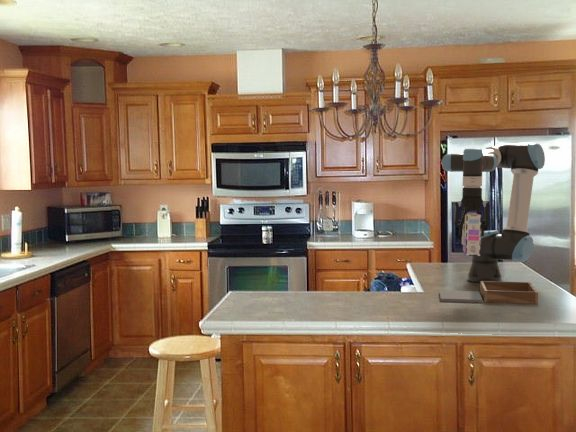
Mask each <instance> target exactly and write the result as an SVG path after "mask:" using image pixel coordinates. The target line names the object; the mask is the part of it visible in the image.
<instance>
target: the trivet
mask: <svg viewBox="0 0 576 432" xmlns="http://www.w3.org/2000/svg"><path fill="white" fill-rule="evenodd" d="M439 299H440V302H445V303H446V302H447V303H471V302H478V304H482V303H483V297H482V294H481V292H480V291H477V290H476V291H474V290H472V291H468V290H441V289H440V290H439Z"/></svg>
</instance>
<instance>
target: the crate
mask: <svg viewBox="0 0 576 432" xmlns="http://www.w3.org/2000/svg"><path fill="white" fill-rule="evenodd" d="M479 284H480V285H479V286H480V288H479V289H480V290H479V293H480V295H481V297H482V300H483V301H485V303H504V302H505V303H507V304H534V303H538V304H539V291H538V290H537V289H536V288H535V286H533V284H532V283H531V282H526V281H525V282H524V281H522V282H520V281H501V282H494V281H480V283H479Z"/></svg>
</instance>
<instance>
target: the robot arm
mask: <svg viewBox="0 0 576 432" xmlns="http://www.w3.org/2000/svg"><path fill="white" fill-rule="evenodd" d="M545 158H546V156H545V151H544V148H543V146H542V145H541V144H540V143H537V142H518V143H517V142H516V143H514V142H513V143H511V142H510V143H501V144H497V145H493V146H488V147H486V148H484V149H483V148H464V150H463V152H461V153H447V154H444V155H443V157H442V160H441V166H442V169H443V170H444V171H445V172H453V173H454V172H455V173H457V172H458V173H459V172H462V186H463V187H462V194H461V195H462V197H461V199H460V200H459V201H455V202H454V207H455V212H454V213H455V214H454V215H455V216H454V226H455V227H457V228H458V229H459V230H458V236H459V237H461V245H462V246H463V245H464V228H463V224H464V221H465V214H467V213H469V211H475V213H477V214H480V215H481V211H480V209H479V208H480V207H481V206H482V205H483V207H484V210H483V211H484V221H483V219H482V217H481V236H480V256H471V264H470V267H469V271H468V273H467V281H469V282H472V283H479V284H480V281H494V282H503V281H502V279H503V277H502V273H501V270H500V266H499V260H501V261H511V262H526V261H527V260H528V259H530V257H531V256H532V253H533V249H534V239H533V238H532V236H530V235H531V234H530V231H529V230H528V229H527V228H528V223H529V222H528V221H529V215H530V214H529V213H530V207H531V201H532V193H533V186H534V178H535V176H538V174H539V170H541V169H543V168H544V166H545V163H546V162H545V161H546V159H545ZM496 168H498V169H499V168H500V169H510V172H511V173H512V174H513V178H512V186H511V193H510V200H509V206H508V212H507V220H506V226H505V227H504V228H502V231H501V233H500V232H499V230H496V229H495V230H485V229H486V228H489V225H490V223H489V221H490V219H489V207H490V202H488V201H484V200H483V195H482V194H483V188H482V186H483V173H489V172H493V171H495V170H496ZM461 204H462V206H463V207H464V210H463V213H462V216H461V219H459V217H460V207H461ZM459 220H460V222H459Z"/></svg>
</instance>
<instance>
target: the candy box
mask: <svg viewBox="0 0 576 432" xmlns="http://www.w3.org/2000/svg"><path fill="white" fill-rule="evenodd" d="M481 218H482V215H481V213H480V214H477V213H476V212H468V213H467V214H465V221H464V224H463V227H462V228H464V245H462V253H463V254H464V255H465V256H468V257H470V256H471V257H472V256H480V236H481Z"/></svg>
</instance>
